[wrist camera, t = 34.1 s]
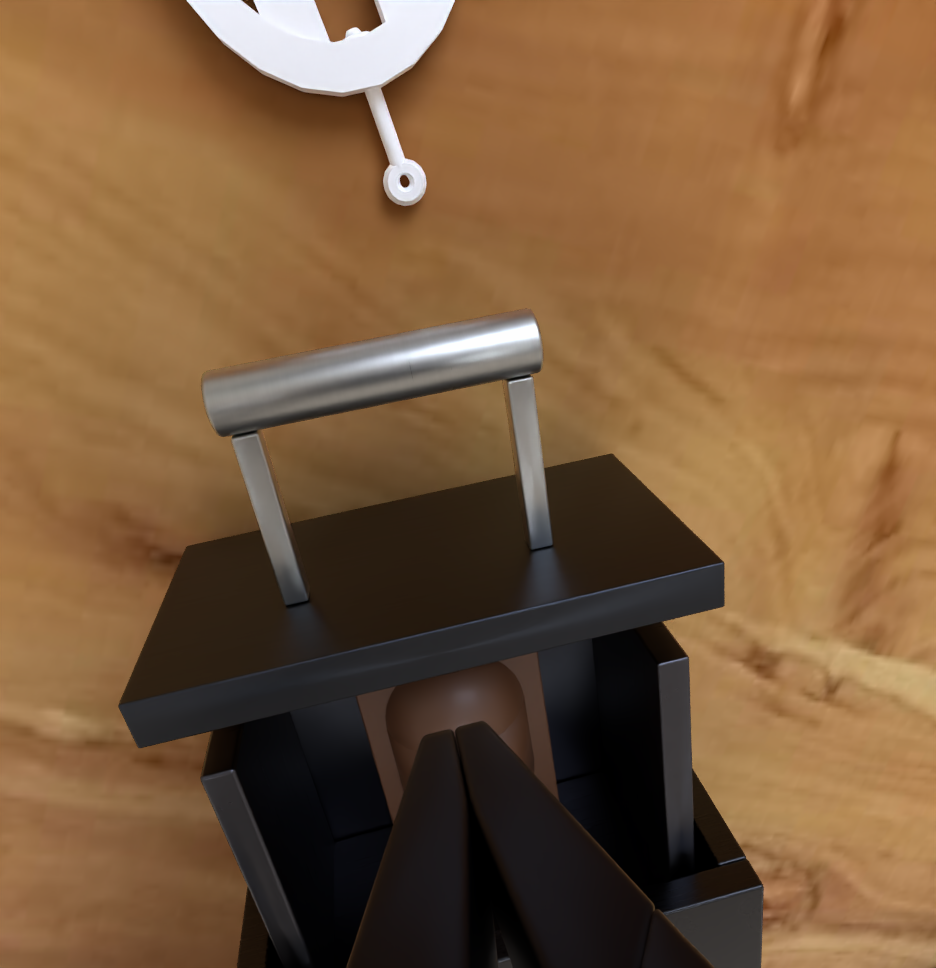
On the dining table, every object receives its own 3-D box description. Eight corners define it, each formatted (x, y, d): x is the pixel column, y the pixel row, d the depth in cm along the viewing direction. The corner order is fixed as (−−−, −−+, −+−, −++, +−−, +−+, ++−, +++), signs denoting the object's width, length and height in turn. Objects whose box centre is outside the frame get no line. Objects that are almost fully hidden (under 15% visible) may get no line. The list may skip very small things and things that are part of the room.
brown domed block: (347, 611, 21) (349, 716, 16) (509, 574, 21) (550, 666, 17) (392, 769, 23) (403, 892, 19) (534, 732, 24) (575, 846, 20)
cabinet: (262, 768, 25) (226, 1038, 17) (636, 674, 26) (764, 885, 18) (349, 992, 31) (352, 1273, 23) (652, 906, 32) (756, 1143, 24)
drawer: (113, 354, 18) (-10, 445, 11) (598, 262, 19) (725, 298, 13) (297, 839, 25) (283, 1052, 19) (635, 751, 26) (726, 925, 20)
